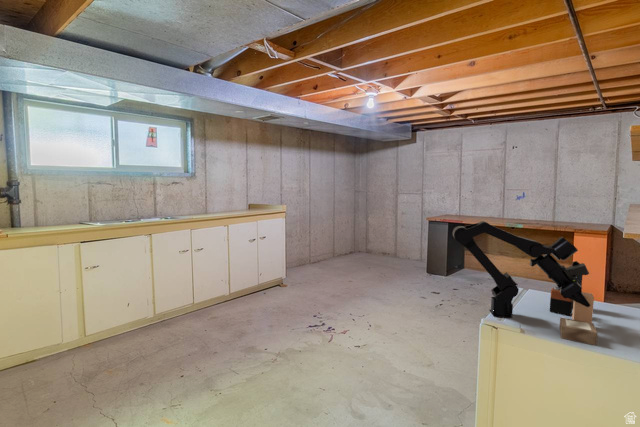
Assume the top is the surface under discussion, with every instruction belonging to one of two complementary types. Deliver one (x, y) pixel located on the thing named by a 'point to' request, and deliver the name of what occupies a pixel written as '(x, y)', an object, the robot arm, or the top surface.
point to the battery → (560, 303)
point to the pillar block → (583, 309)
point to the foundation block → (578, 331)
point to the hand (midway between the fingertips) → (588, 304)
